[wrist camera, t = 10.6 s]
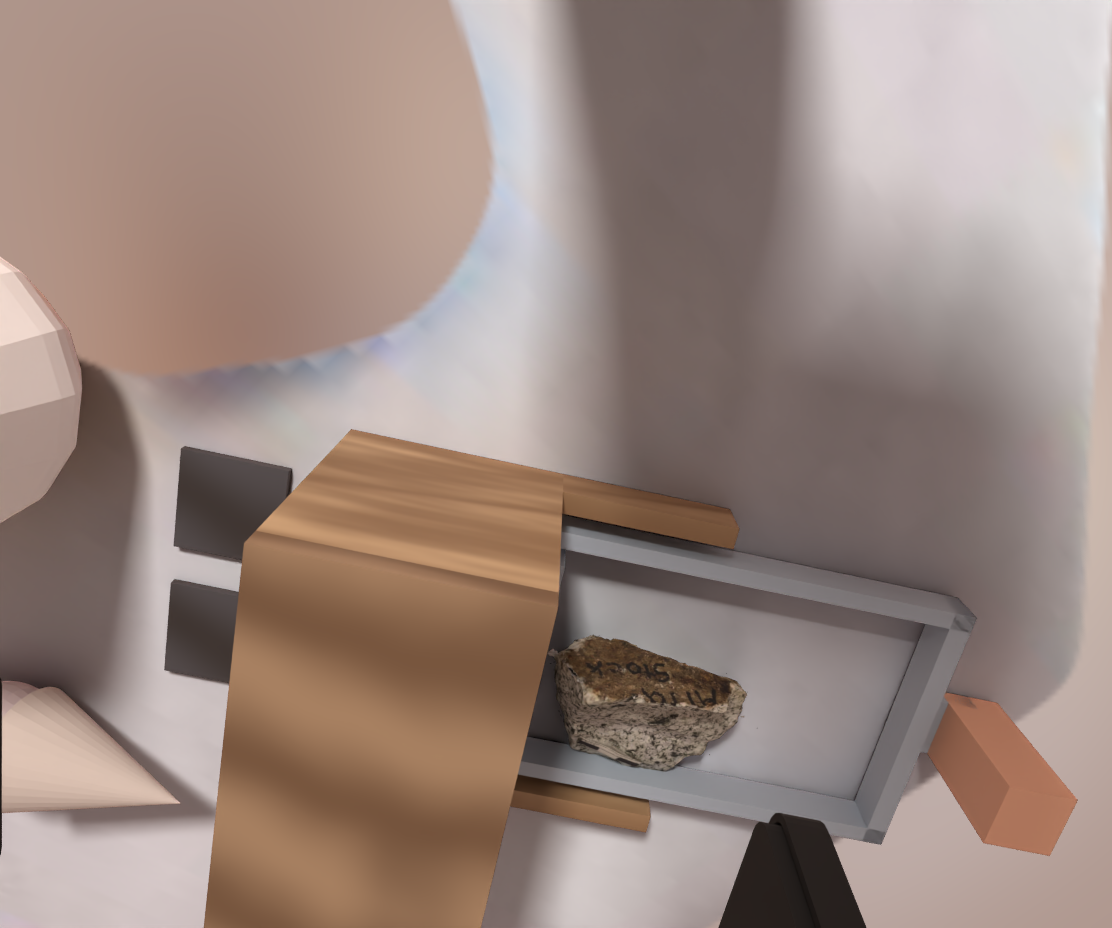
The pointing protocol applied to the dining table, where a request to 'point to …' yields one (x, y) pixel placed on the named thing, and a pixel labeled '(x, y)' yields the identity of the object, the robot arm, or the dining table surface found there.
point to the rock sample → (640, 703)
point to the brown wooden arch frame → (383, 672)
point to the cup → (33, 393)
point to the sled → (912, 727)
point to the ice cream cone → (65, 757)
